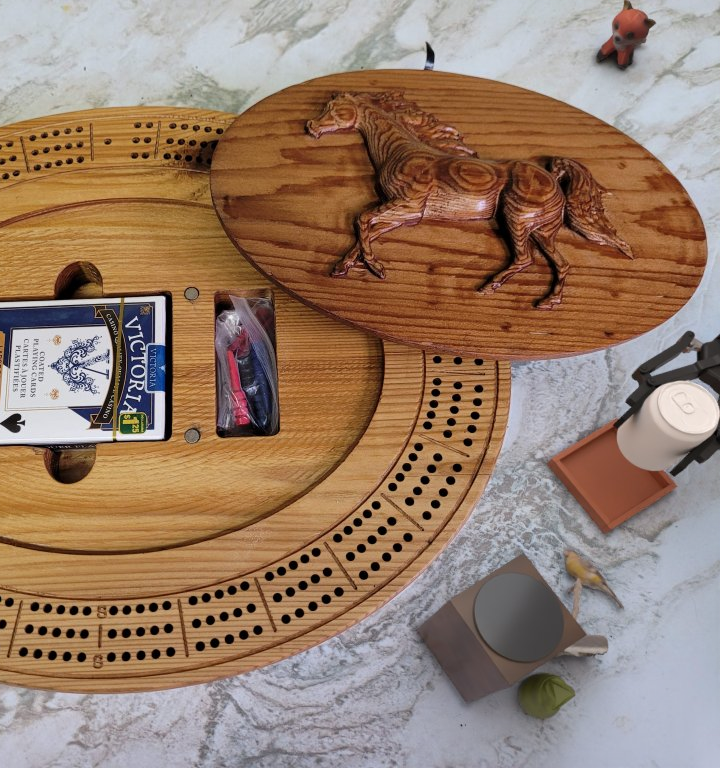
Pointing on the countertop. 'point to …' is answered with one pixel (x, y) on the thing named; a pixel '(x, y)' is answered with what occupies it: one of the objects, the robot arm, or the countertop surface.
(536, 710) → the green pointed bulb
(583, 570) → the decorative sculpture
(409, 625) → the countertop surface
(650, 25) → the stuffed fox
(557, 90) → the countertop surface
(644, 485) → the tray
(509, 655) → the coaster
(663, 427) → the beverage can
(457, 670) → the stand
